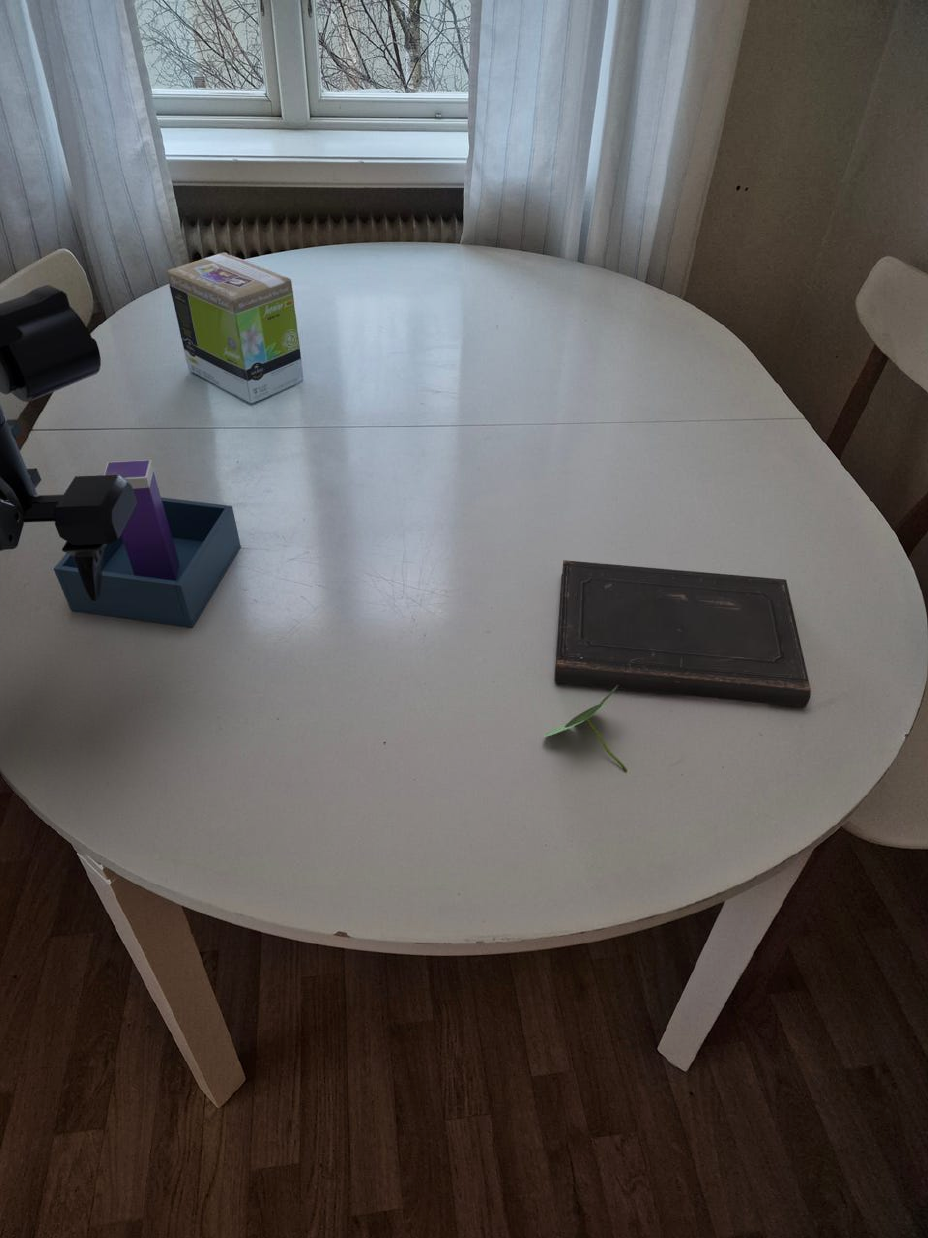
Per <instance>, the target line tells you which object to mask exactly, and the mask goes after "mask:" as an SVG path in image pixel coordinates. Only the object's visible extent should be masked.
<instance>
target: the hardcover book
mask: <svg viewBox="0 0 928 1238" xmlns="http://www.w3.org/2000/svg"><path fill="white" fill-rule="evenodd" d="M560 577H561V578H560V591H559V605H558V606H559V607H558V620H557V621H558V622H557V637H556V650H555V665H554V679H553V680H554V683H556V684H564V685H565V684H566V685H574V686H575V685H576V686H584V687H585V686H586V687H597V688H606V689H607V688H608V689H614V688H615V687H616V686H617V685H618V687H617V688H616V689H615V690H618V689H619V690H625V691H637V692H647V693H655V694H656V693H657V694H665V695H666V694H667V695H677V696H688V697H697V698H698V697H699V698H707V699H708V698H709V699H716V700H717V699H718V700H728V701H737V702H749V703H758V704H768V705H779V706H788V707H790V706H791V707H798V708H806V707H807V706H808V704H809V702H810V700H811V695H812V694H811V693H812V690H811V683H810V680H809V676H808V671H807V666H806V662H805V658H804V653H803V649H802V644H801V639H800V635H799V630H798V626H797V622H796V617H795V613H794V609H793V608H794V607H793V603H792V598H791V595H790V591H789V586H788V581H787V579H785V578H772V577H761V576H750V575H739V574H728V573H727V574H726V573H716V572H715V573H714V572H705V571H692V570H681V569H680V570H679V569H670V568H658V567H647V566H635V565H624V564H611V563H602V562H601V563H600V562H588V561H576V560H567V559H563V560H562V572H561V576H560Z"/></svg>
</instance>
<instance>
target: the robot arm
mask: <svg viewBox="0 0 928 1238" xmlns="http://www.w3.org/2000/svg"><path fill="white" fill-rule="evenodd" d="M101 363H102V359H101V352H100V349H99V346H98V342H97V341H96V339H95V338H94V337H92V335H91V332H90V331H89V329H88V328H87V326H86V324H85V322H84V321H83V319H82V318H81V317H80V315H79V314H78V313H77V312H76V311H75V310H74V309H73V308H72V307H71V306H70V301H69V298H68V295H67V292H65V291H64V290H61V289H59V288H56V287H54V286H53V285H50V284H45V285H42V286H39V287H36V288H34V289H32V290H30V291H29V292H27V293H26V294H24V295H22V296H18V297H16V298H11V299H9V300H6V301H3V302H1V303H0V393H1V394H3V395H10V394H11V395H13V396H15V397H16V398H17V399H18V400H20V401H22V402H25V403H29V402H32V401H35V400H38V399H40V398H42V397H44V396H47V395H49V394H51V393H54V392H56V391H59V390H62V389H64V388H66V387H69V386H71V385H73V384H76V383H78V382H81V381H83V380H86V379H88V378H91V377H93V376H95V375H98V373H99V371H100V370H101V365H102V364H101ZM22 432H23V430H22V427H21V425H20V422H19V420H18V419H16V418H15V419H7V417H6V414H5V412H4V410H3V407H2V404H0V552H2V551H5V550H15V549H17V547H18V545H19V543H20V539H21V536H22V533H23V532H22V531H23V529H24V525H25V523H44V522H45V523H46V522H47V523H48V522H54V526H55V528H56V531H57V534H58V536H59V538H61V539H63V540H64V541H65V543H64V545H63V546H62V548H61V551H62V552H64V553H65V554H66V553H68V554H70V555H72V556H73V557H74V560H75V563H76V566H77V569H78V571H79V574H80V577H81V580H82V583H83V585H84V588H85V590H86V592H87V594H88V596H89V598H90V599H91V601H97V599H98V597H99V595H100V591H101V581H102V571H103V560H104V551H105V547H106V545H107V544H110V543H112V542H114V541H116V540H118V539H119V537H120V535H121V533H122V531H123V529H124V527H125V525H126V524H127V522H128V520H129V518H130V516H131V514H132V512H133V510H134V508H135V506H136V504H137V500H136V497H135V494H134V491H133V488H132V485H131V484H130V483H129V482H128V481H127V480H126V479H125V478H123V477H122V476H120V475H104V474H101V475H75V476H74V477H73V479H72V481H71V482H70V484H69V485H68V487H67V488H66V489H65V492H64V493H61V494H59V493H58V494H38V493H37V489H36V488H37V487H38V485H40V483H41V481H42V478H41V475H40V472H39V470H38V468H27V465H26V463H25V461H24V458H23V456H22V453H21V451H20V449H19V446H18V444H17V441H16V440H17V439H18V437H20V435H21V434H22Z"/></svg>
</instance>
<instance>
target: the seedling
mask: <svg viewBox="0 0 928 1238" xmlns="http://www.w3.org/2000/svg"><path fill="white" fill-rule="evenodd" d="M617 687H618V685H617V686H616V687H615V688H612V690H610V692H609V693H608V694H607V695H606V696H605V697H604V698H603V699H602V700H601V701H600V703H598V704H595V705H593V706H591V707H590V708H587V709H586V710H584V711H582V712H581V713H579V714H578V715H576V716H574V717H573V718H572V719H571V720H569V721H568V723H566V724H565V725H562V726H560V727H558V728H555V729H553V730H552V731H549V732H548V733H546V734H544V735H543V736H542V738H547V737H550V736H553V735H556V734H558V733H561V732H564V731H566V730H569V729H571V728H573V727H575V726H577V725H579V724H581V723H583V722H585V721H587V722H588V724H589V725H590V727H591V729H592V730H593V731H594V732H595V735H596V736H597V737H598V739H599V740H600V742H601V744H602V746H603V747H604V749H605V751H606V753H608V755H609V756H610V757H611V758H612V759H613V760H614V761H615V762H616V763H617V764H618V765H620V767H621V768H622V769H623V771H624V772H625V773H626V772H628V769H627V767H626V766H625V765H624V763H622V762H621V760H620V759H618V758H617V757H616V756H615V755H614V754H613V753H612V752H611V751H610V749H609V748H608V746H607V744H606V742H605V741H604V739H603V738H602V736H601V734H600V733H599V731H598V730H597V728H596V727H595V725H594V724H593V723H592V721H591V720H590V719H591V717H592V716H593V715H594V714H595V713H597V712H598V711H599V710H600V709H601V708H602V707H604V705H605V704H606V701H607V700H608V699H609V698H610V697H611V696H612V695H613V693H614V692H615V691H616V690H617V689H616V688H617Z"/></svg>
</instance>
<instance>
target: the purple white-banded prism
mask: <svg viewBox="0 0 928 1238" xmlns="http://www.w3.org/2000/svg"><path fill="white" fill-rule="evenodd" d="M154 471H155V469H154V465H153V462H152V459H139V460H121V461H108V462H107V464H106V466H105V470H104V473H103V475H120V476H122V477H123V478H125V479H126V480H127V481H128V482H129V483H130V484H131V485H132V488H133V491H134V494H135V497H136V500H137V504H136V506H135V508H134V510H133V512H132V514H131V516H130V518H129V520H128V522H127V524H126V525H125V527H124V529H123V531H122V533H121V536H122V539H123V542H124V545H125V548H126V551H127V554H128V557H129V560H130V563H131V566H132V569H133V572H134V575H135V576H142V577H149V578H157V579H164V580H172V581H176V578H177V573H178V568H179V560H178V556H177V553H176V549H175V546H174V542H173V539H172V535H171V531H170V528H169V524H168V521H167V517H166V514H165V510H164V507H163V503H162V500H161V497H162V496H161V492H160V489H159V485H158V482H157V478H156V476H155V472H154Z"/></svg>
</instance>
